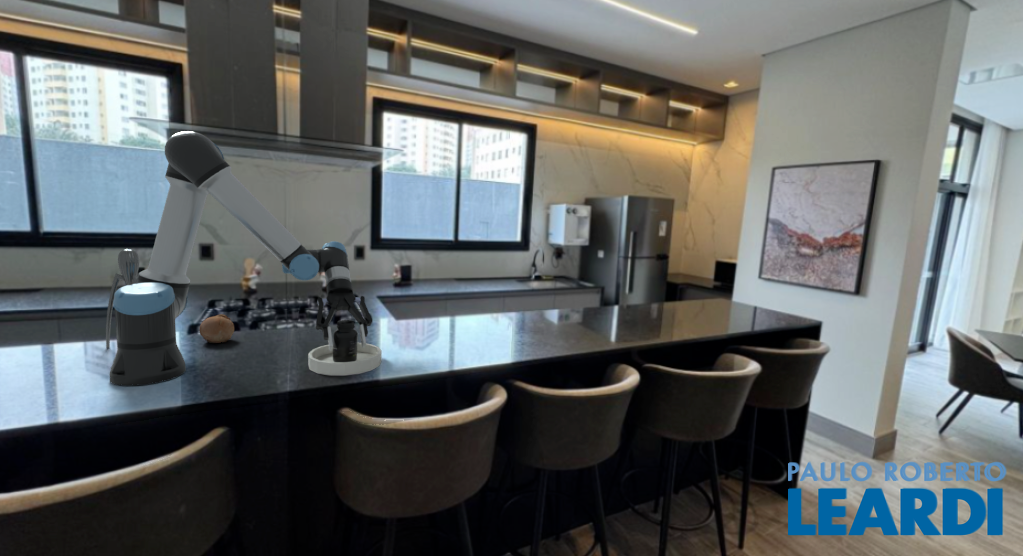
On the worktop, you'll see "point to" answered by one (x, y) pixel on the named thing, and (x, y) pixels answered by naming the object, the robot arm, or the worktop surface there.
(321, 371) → the round tray
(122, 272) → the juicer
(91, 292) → the worktop surface
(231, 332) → the onion
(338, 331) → the supplement bottle
